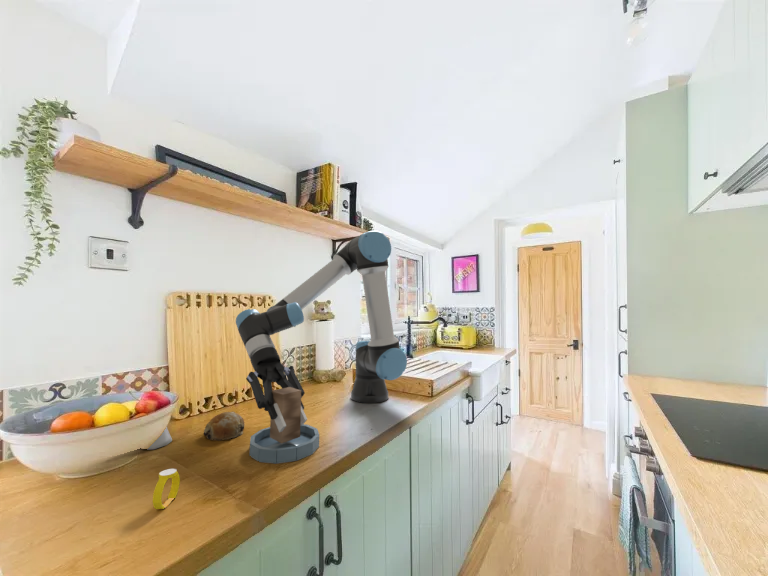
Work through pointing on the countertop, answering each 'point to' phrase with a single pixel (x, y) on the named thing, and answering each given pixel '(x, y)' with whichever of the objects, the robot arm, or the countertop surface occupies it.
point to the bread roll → (224, 426)
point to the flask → (162, 440)
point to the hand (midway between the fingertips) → (293, 425)
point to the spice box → (287, 414)
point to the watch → (160, 486)
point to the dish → (284, 446)
